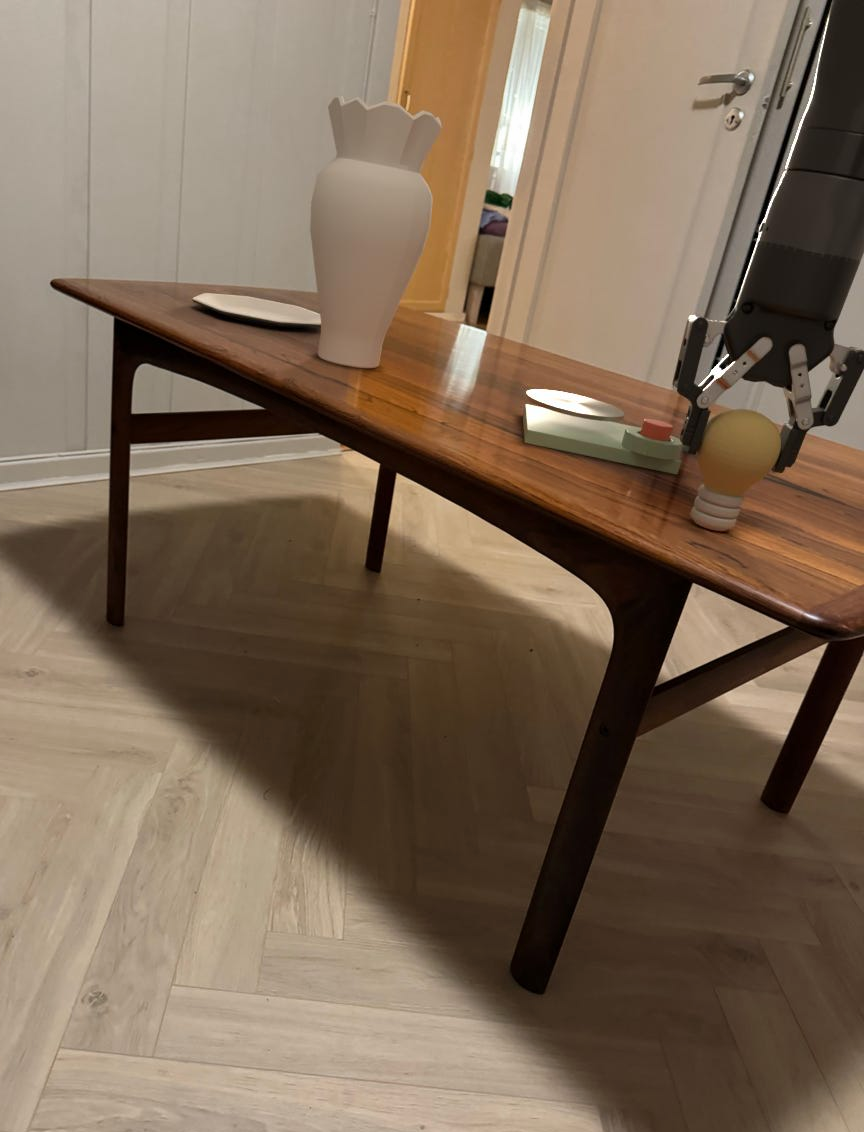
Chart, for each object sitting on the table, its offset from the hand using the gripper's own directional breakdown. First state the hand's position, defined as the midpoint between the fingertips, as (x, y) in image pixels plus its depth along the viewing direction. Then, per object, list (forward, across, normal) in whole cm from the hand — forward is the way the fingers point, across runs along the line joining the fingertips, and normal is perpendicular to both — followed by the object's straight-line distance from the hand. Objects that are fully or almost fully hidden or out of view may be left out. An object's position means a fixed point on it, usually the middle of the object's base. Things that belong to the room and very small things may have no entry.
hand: (732, 460), depth 75 cm
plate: (+6, -56, +64) cm, 85 cm away
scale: (+6, -8, +24) cm, 26 cm away
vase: (+6, -39, +43) cm, 58 cm away
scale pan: (+3, -11, +26) cm, 28 cm away
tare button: (+3, -3, +19) cm, 19 cm away
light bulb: (+6, 0, 0) cm, 6 cm away
